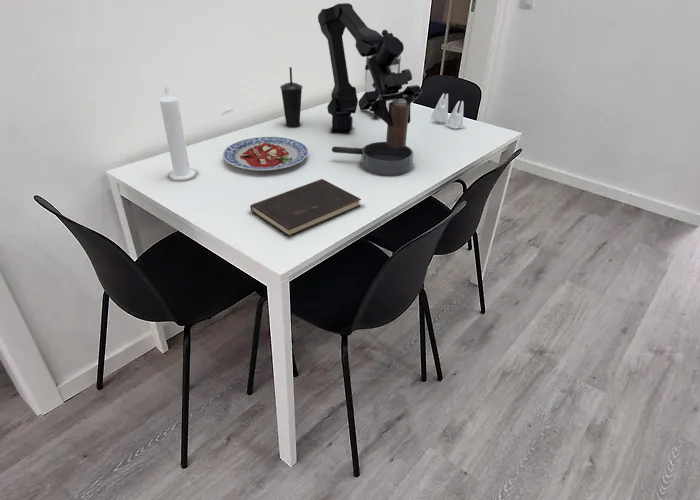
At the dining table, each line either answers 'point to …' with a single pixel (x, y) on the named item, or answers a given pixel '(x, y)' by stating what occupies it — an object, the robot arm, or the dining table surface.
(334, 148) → the pan handle
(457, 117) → the shaker set
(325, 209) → the hardcover book
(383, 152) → the pan
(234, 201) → the dining table surface
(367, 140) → the dining table surface
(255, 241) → the dining table surface
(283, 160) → the ceramic plate
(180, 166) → the candle
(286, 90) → the drinking cup
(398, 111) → the pepper mill
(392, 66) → the coffee press
